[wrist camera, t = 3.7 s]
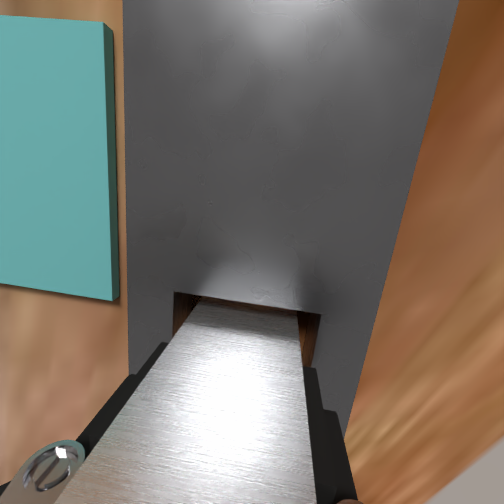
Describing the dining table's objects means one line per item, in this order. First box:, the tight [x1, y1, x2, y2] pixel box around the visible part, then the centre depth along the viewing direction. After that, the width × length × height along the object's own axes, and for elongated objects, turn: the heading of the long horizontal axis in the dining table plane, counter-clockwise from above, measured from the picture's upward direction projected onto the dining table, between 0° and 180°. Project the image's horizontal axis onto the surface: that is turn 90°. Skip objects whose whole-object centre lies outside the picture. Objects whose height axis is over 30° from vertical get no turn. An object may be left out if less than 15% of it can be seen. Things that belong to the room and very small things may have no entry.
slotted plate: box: [123, 0, 459, 439], centre depth 11 cm, size 22×10×2 cm, turn 174°
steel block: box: [54, 296, 317, 504], centre depth 9 cm, size 4×4×10 cm
